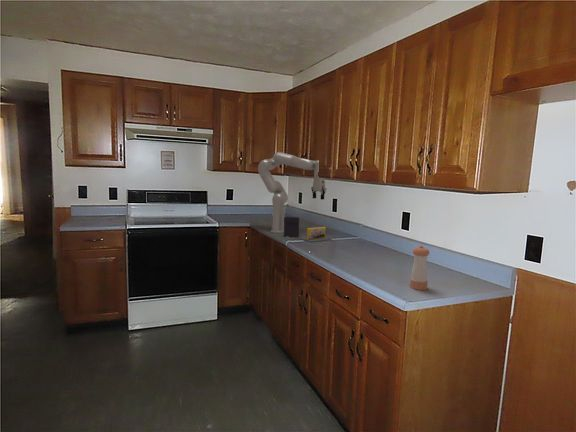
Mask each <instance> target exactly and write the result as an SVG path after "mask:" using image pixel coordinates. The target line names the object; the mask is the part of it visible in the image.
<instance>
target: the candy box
mask: <svg viewBox="0 0 576 432" xmlns="http://www.w3.org/2000/svg"><path fill="white" fill-rule="evenodd" d="M326 230H327V227H325V226H318V227H308V228H307V227H306V238H307V240H310V239H319V238H325V237H326Z"/></svg>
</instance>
